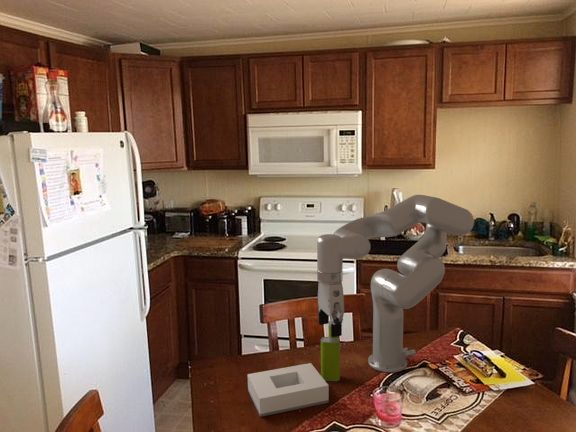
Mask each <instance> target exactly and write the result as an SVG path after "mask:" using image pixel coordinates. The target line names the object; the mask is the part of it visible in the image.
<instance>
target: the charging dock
mask: <svg viewBox="0 0 576 432" xmlns="http://www.w3.org/2000/svg"><path fill="white" fill-rule="evenodd" d="M329 386H330V385H329V384H328V383H327V381H325V380H324V379H323V378H322V376H321V373H319V371H318V370H317V369H316V368H315V367H314V365H313V364H312V363H311V362H310V363H308V362H307V363H304V364H298V365H292V366H287V367H280V368H275V369H271V370H264V371H258V372H253V373H247V391H248V393H249V396H250V398H251V400H252V402H253V405H254V408H256V411H257V413H258V415H259V417H265V416H266V417H267V416H271V415H276V414H281V413H285V412H291V411H294V410H295V411H296V410H300V409H305V408H309V407H314V406H319V405H324V404H328V403H329V397H330V395H329V391H330V390H329Z"/></svg>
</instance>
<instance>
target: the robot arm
mask: <svg viewBox="0 0 576 432" xmlns="http://www.w3.org/2000/svg"><path fill="white" fill-rule="evenodd" d="M420 223H422V224H423V223H424V224H425V231H424V234H423V235H422V236H421V237H420V239H419V240H418V241H416V242H415V244H413V245H412V246H411V247H410V248H408V249H407V250H406V251H405V252H404V253H403V254H402V255H400V257H399V258H398V260H397V264H396V267H397V270H398V271H399V272H398V271H395V270H393V269H390V268H382V269H379V270H377V271H376V272H375V273H374V274H372V277H371V280H370V293H371V297H372V308H373V310H372V312H373V313H372V316H373V319H372V353H371V354H370V355H369V356H368V358H367V362H368V365H369V366H370V368H371V369H372V368H373V369H374V370H376V371H379V372H383V373H398V372H401V371H403V370H405V369H406V368H407V367H408V359H407V358H408V357H413V356H416V355H417V352H416V349H413V348H412V349H408V347H403V346H404V341H403V340H404V309H405V310H407V309H411V308H413V307H414V306H416V305H418V304H419V303H420V302H421V301H423V299H424V298H425V297H427V295H429V294H430V293H431V292H432V291H433V290H434V289H436V288H437V287H438V285H439V284H440V283H441V282H442V280H443V278H444V275H445V272H446V269H445V268H446V267H445V264H444V262H443V260H442V259H441V257H442V256H443V254H444V253H445V251H446V250H447V242H448V241H447V239H448V238H447V237H448V236H447V235H448V234H452V235H455V236H464V235H467V234H468V233H470V232H471V231H472V229H473V227H474V226H475V219H474V216H473V214H472V213H471V212H470V211H469V209H466V208H464V207H461V206H460V205H457V204H454V203H451V202H449V201H447V200H444V199H442V198H440V197H437V196H429V195H424V194H414V195H412V196H409V197H408V198H406V199H403V200H402V201H400V202H399V203H397V204H395V205H393V206H391V207H389V208H388V209H385V210H384V211H381V212H376V213H373V214H370V215H367V216H362V217H358V218H357V219H354V220H352V221H349V222H347V223H345V224H344V225H342V226H340V227H338V228H337V229H336V230H335V231H334V232H333V233H331V234H330V233H327V234H321V235H319V236H318V238H317V240H316V241H317V242H316V243H317V244H316V248H317V249H316V255H317V257H316V260H317V261H316V264H317V265H316V267H317V268H316V269H317V271H316V275H317V278H316V280H317V282H318V283H317V285H318V286H317V287H318V290H317V305H318V308H317V309H318V310H317V311H318V324H319V326H320V325H323V326H324V325H328V322H329V321H331V320H332V324H331V336H332V337H337V336H339V337H341V336H342V335H343V333H342V330H343V329H342V327H343V325H342V324H343V321H344V314H345V302H344V301H345V299H344V298H345V296H344V287H343V283H342V282H343V262H344V261H343V260H344V259H345V260H360V259H363V258H365V257H366V256H368V254H369V253H370V251H371V242H370V240H369V239H372V238H391V237H396V236H399V235H401V234H402V233H403V232H405V231H407V230H408V229H410V228H412V227H414V226H416V225H417V224H420ZM447 233H448V234H447ZM335 316H336V319H334V317H335Z"/></svg>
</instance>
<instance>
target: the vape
mask: <svg viewBox="0 0 576 432" xmlns="http://www.w3.org/2000/svg"><path fill="white" fill-rule="evenodd" d="M336 318H337V316H335V317H334V319H336ZM331 324H332V320H331V319H330V320H329V322H328V324H327V326H328V335H327V336H323V337H321V338H320V375H321V376H322V378H323V379H324V380H325V382H339V381H340V380H341V338H340V336H337V337H332V336H331Z"/></svg>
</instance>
